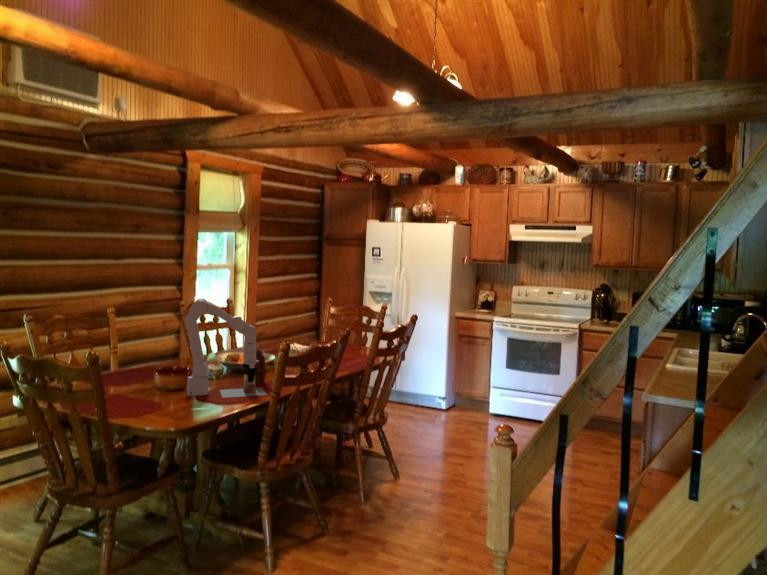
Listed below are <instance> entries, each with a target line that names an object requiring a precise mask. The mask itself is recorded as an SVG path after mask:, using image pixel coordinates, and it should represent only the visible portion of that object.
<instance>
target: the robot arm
mask: <svg viewBox="0 0 767 575" xmlns="http://www.w3.org/2000/svg"><path fill="white" fill-rule="evenodd" d="M205 313H206V315H214V316H216V317H218V318H220V319H221V320H223V321H225V322H226V323H228V325H229V328H231V329H233V330H234V331H236V332H238V333H239V334H241V335H243V336H244V342H243V362H242V366H243V369H244V374H247V376H248V382H253V381H254V377H255V373H256V371H257V369H258V368H257V367H254V365H255V364H256V363H257V362H259V360H256V348H257V335H258V332H257V328H256V326H254V325H253V324H251V323H250V322H246V321H245V320H244V319H242V317H241V316H236V315H235V316H232V315H231V314H230V313H227V312H226V311H225V310H223V309H222V308H220V307H218V305H216V304H214V303H213V302H210V301H208V300H206V299H205V298H198V299H196V301H194V303H192V305H191V306H190V308H189V310H188V312H187V315H186V316H185V325H186V329H187V334H188V340H189V345H190V349H191V355H192V363H193V367H192V370H191V371H192V375H191V376H187V387H186V393H187V397H190V396H191V397H192V396H205V395H208V394H209V374H208V369H209V364H208V361H206V359H205V355H204V351H203V347H202V342H201V336H200V332H199V326H198V320H199V319H200V317H202V316H203V315H204V314H205Z"/></svg>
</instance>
